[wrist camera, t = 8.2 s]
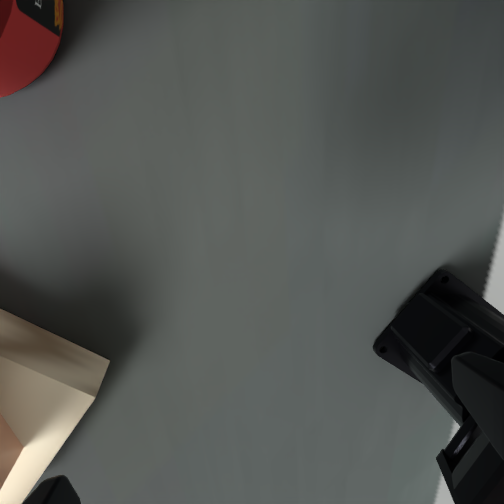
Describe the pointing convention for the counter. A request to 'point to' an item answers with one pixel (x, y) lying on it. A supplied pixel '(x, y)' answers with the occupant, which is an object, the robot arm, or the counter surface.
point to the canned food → (27, 40)
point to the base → (41, 396)
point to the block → (7, 450)
